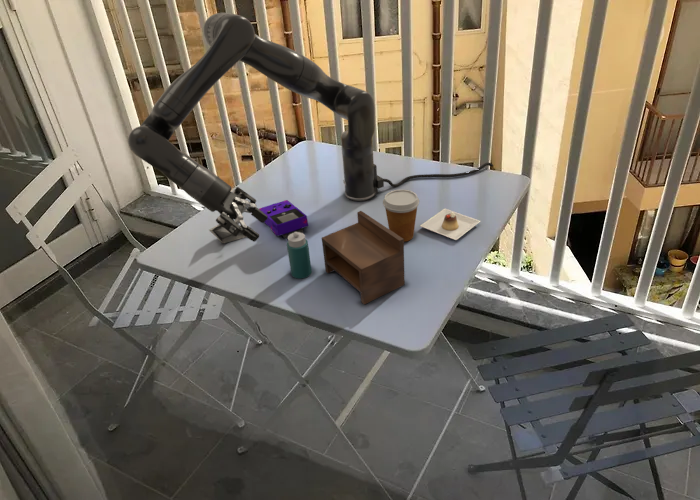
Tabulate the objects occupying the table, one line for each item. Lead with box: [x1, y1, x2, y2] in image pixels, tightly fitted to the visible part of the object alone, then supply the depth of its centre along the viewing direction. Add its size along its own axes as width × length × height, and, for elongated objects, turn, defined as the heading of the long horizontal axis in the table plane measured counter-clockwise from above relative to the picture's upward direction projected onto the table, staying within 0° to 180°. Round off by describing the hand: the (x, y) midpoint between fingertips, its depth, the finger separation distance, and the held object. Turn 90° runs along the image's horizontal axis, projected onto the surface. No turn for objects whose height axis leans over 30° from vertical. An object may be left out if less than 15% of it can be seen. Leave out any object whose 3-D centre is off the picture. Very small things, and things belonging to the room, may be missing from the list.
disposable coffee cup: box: [382, 189, 420, 243], centre depth 150 cm, size 10×10×12 cm
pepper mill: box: [286, 232, 313, 279], centre depth 139 cm, size 5×5×12 cm
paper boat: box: [208, 224, 247, 244], centre depth 155 cm, size 12×6×9 cm
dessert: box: [419, 208, 481, 241], centre depth 154 cm, size 12×12×5 cm
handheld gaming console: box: [258, 199, 309, 239], centre depth 162 cm, size 9×5×15 cm
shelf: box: [321, 210, 406, 306], centre depth 135 cm, size 12×17×13 cm
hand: (261, 229), depth 136 cm, fingers open, 8 cm apart
